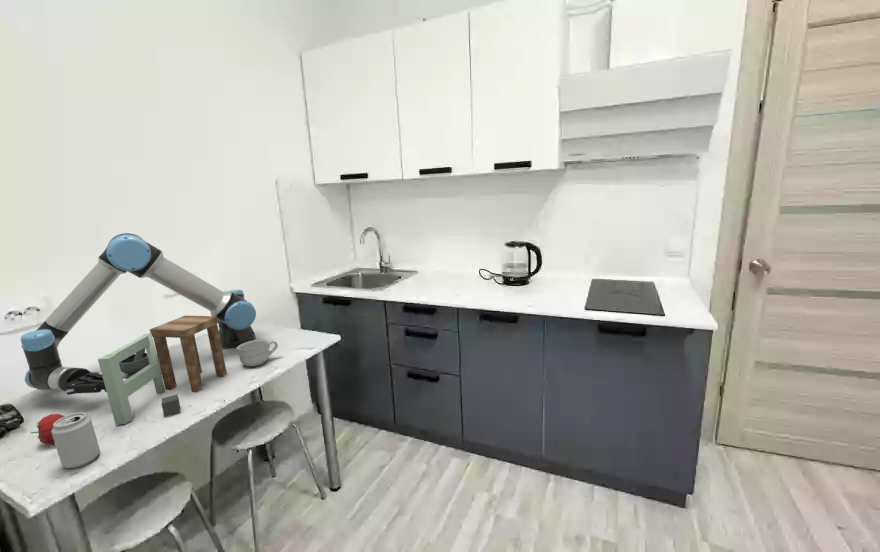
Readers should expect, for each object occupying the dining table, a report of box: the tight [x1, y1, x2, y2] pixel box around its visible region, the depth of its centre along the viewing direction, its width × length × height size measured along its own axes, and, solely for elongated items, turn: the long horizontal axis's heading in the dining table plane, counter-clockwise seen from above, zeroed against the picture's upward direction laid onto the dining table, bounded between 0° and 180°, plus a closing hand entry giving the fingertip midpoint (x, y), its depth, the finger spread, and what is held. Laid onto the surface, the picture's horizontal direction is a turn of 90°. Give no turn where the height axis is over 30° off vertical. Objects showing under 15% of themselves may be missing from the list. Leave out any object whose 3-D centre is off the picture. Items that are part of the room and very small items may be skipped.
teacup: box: [236, 339, 278, 367], centre depth 157 cm, size 14×11×8 cm
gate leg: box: [97, 333, 166, 426], centre depth 127 cm, size 20×3×21 cm, turn 2°
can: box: [51, 412, 101, 469], centre depth 103 cm, size 8×8×12 cm
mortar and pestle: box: [119, 348, 150, 379], centre depth 152 cm, size 11×9×12 cm
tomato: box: [30, 413, 66, 445], centre depth 113 cm, size 8×8×8 cm
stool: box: [149, 315, 228, 393], centre depth 142 cm, size 14×14×22 cm
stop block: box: [161, 393, 181, 418], centre depth 125 cm, size 4×4×4 cm
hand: (128, 384), depth 125 cm, fingers closed
